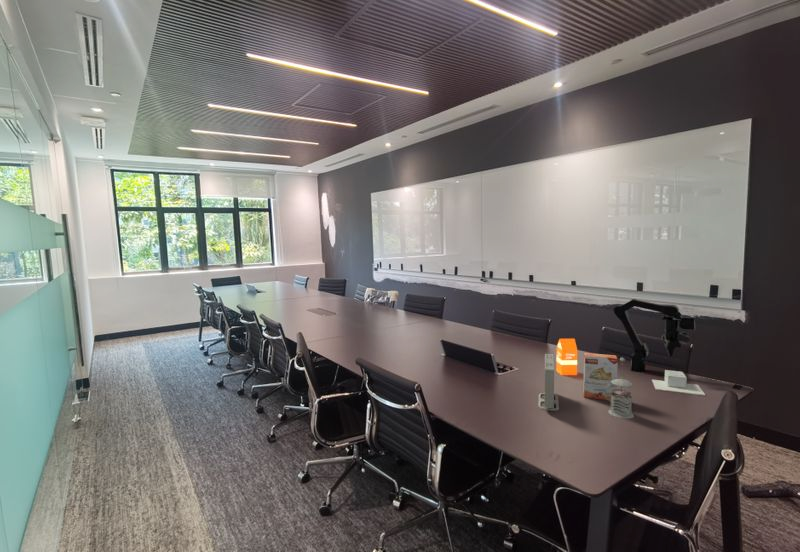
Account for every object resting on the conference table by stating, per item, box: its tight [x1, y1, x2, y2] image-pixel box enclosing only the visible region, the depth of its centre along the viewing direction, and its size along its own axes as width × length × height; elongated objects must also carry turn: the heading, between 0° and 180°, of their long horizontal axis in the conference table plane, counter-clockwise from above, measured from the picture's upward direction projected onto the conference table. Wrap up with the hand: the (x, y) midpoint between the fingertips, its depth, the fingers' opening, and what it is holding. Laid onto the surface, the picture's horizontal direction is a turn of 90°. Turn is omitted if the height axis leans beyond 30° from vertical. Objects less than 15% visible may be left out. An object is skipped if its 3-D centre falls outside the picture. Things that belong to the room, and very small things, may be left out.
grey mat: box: [651, 379, 706, 397], centre depth 198 cm, size 20×14×1 cm
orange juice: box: [555, 338, 578, 376], centre depth 223 cm, size 8×9×20 cm
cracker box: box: [582, 352, 619, 401], centre depth 187 cm, size 14×6×21 cm, turn 68°
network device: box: [537, 353, 560, 411], centre depth 183 cm, size 26×9×20 cm, turn 160°
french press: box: [604, 357, 635, 420], centre depth 170 cm, size 10×12×25 cm
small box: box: [663, 369, 688, 388], centre depth 202 cm, size 8×6×10 cm
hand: (670, 355), depth 215 cm, fingers closed
